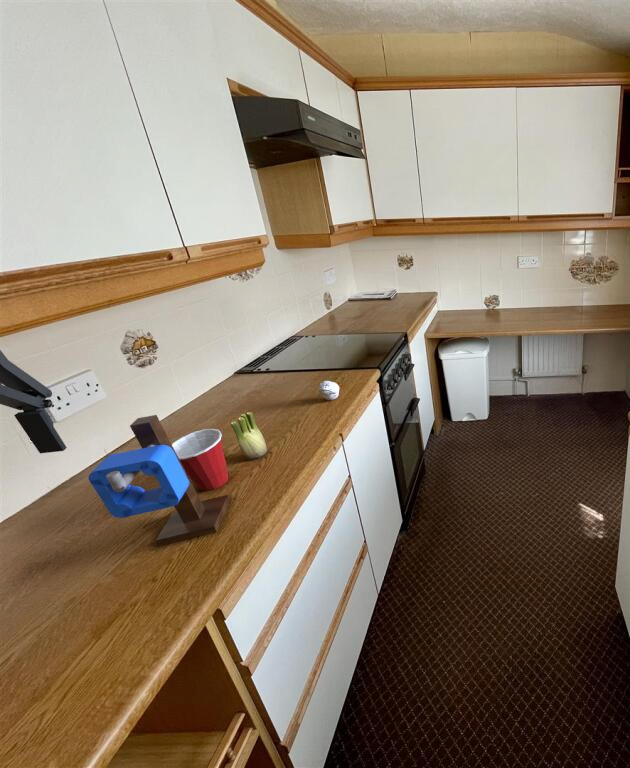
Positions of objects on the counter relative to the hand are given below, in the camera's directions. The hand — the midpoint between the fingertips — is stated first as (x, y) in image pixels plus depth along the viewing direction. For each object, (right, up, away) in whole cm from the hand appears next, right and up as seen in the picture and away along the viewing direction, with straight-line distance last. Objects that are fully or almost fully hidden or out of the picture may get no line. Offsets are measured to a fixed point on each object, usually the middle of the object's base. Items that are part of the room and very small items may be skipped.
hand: (17, 483), depth 52 cm
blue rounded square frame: (0, -9, +21) cm, 22 cm away
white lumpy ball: (+5, +8, +81) cm, 81 cm away
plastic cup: (-7, -11, +44) cm, 46 cm away
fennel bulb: (-3, -6, +54) cm, 54 cm away
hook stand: (-1, -18, +29) cm, 34 cm away
